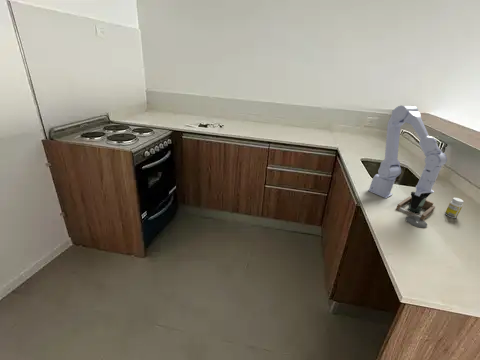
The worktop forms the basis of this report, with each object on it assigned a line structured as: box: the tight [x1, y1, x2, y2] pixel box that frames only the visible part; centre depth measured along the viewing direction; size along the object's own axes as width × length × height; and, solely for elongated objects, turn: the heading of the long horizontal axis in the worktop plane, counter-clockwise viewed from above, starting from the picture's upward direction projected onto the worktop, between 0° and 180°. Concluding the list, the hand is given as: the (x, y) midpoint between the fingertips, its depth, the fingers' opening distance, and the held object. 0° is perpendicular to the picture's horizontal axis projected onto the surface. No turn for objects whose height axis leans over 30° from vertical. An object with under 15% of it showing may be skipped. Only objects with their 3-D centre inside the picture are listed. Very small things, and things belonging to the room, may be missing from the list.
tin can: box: [407, 194, 428, 215], centre depth 126 cm, size 5×5×8 cm
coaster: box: [405, 215, 428, 229], centre depth 118 cm, size 8×8×1 cm
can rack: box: [395, 196, 436, 221], centre depth 128 cm, size 11×15×4 cm
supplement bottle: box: [444, 197, 464, 219], centre depth 126 cm, size 5×5×8 cm
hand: (416, 205), depth 127 cm, fingers open, 7 cm apart
